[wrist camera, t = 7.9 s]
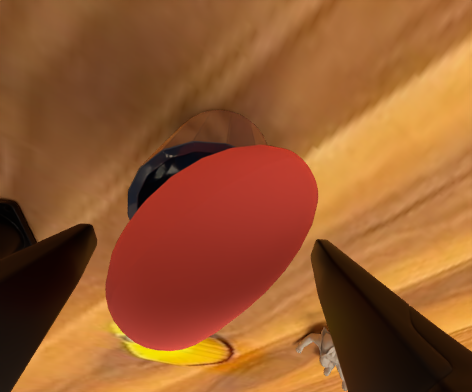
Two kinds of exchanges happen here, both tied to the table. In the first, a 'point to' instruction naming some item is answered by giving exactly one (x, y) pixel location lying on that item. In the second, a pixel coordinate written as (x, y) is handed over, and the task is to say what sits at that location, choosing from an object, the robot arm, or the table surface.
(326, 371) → the soldier figure
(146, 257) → the stress ball
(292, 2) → the table surface
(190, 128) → the cup
